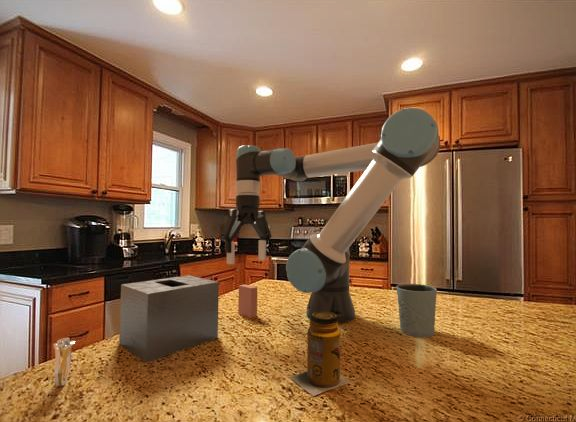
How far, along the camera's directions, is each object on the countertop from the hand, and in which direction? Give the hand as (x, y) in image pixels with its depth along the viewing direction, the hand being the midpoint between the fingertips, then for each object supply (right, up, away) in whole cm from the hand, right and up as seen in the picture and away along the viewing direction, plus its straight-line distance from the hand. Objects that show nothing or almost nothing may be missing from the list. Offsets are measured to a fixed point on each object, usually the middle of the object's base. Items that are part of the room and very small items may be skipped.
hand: (247, 261), depth 96 cm
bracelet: (-27, -15, -42) cm, 52 cm away
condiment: (+19, -16, -40) cm, 47 cm away
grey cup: (+48, -17, -14) cm, 53 cm away
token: (0, -17, 0) cm, 17 cm away
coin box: (-16, -16, -22) cm, 31 cm away
